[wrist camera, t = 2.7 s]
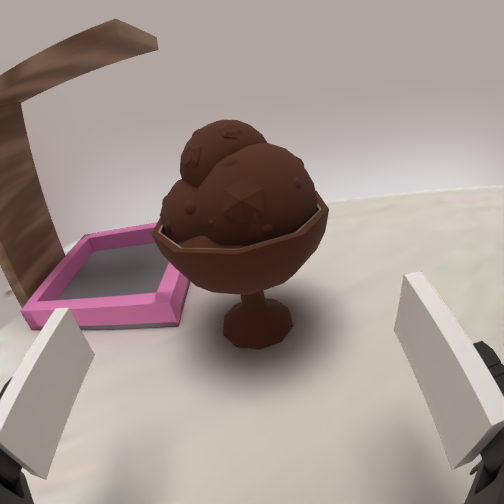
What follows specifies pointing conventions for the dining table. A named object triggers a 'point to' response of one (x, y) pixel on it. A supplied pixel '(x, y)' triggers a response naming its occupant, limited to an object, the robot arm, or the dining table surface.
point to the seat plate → (112, 284)
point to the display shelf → (19, 154)
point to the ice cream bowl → (241, 225)
